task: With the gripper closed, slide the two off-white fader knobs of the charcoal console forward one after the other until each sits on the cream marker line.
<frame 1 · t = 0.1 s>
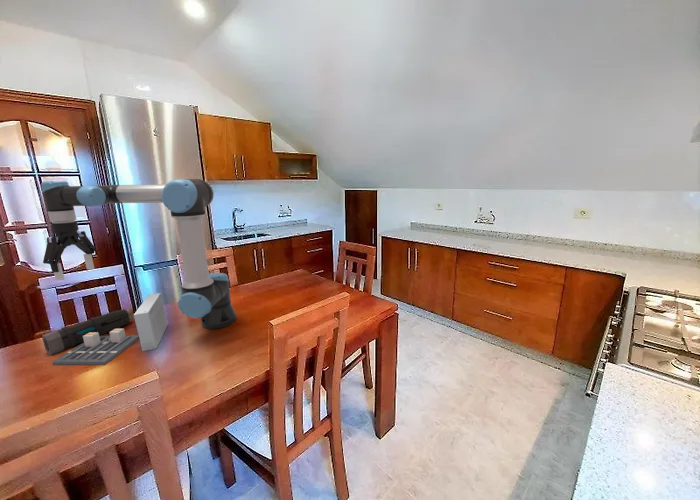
hand: (76, 274, 120), 28 cm above the table, fingers open, 13 cm apart
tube: (94, 337, 127), on the table, touching console
skincare box: (155, 337, 126), on the table
fader A: (117, 335, 120), point 4 cm above the table, slide at -5.0 cm
console: (99, 350, 116), on the table
fader B: (91, 339, 117), point 4 cm above the table, slide at -2.0 cm
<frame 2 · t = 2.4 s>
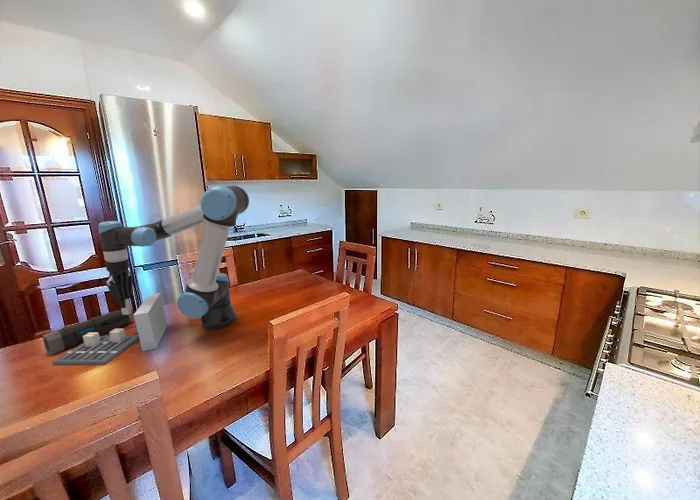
hand: (126, 313, 125), 10 cm above the table, fingers closed
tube: (95, 337, 127), on the table
everything else where it was.
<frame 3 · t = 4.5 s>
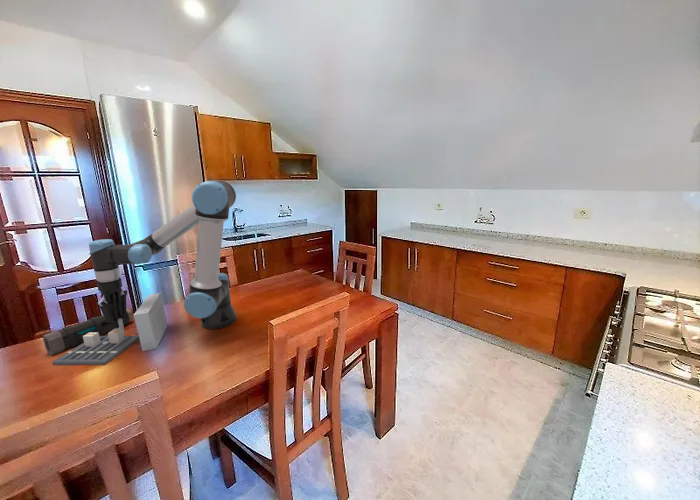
hand: (120, 333, 122), 4 cm above the table, fingers closed
fader A: (116, 336, 119), point 4 cm above the table, slide at -4.2 cm, touching gripper
everything else where it was.
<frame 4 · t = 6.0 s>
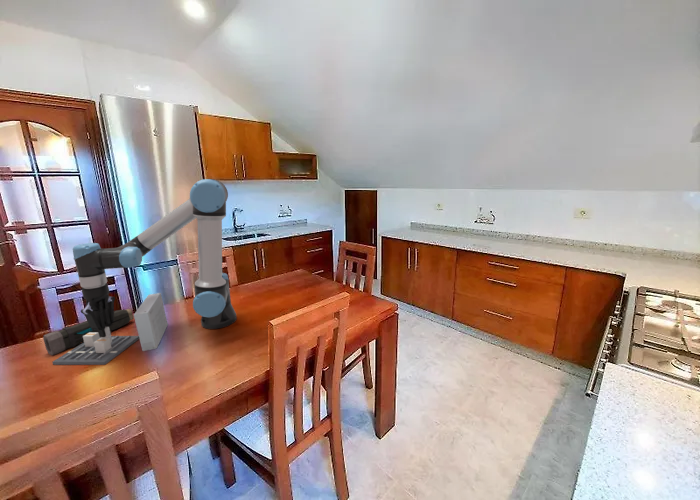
hand: (107, 342, 115), 3 cm above the table, fingers closed
fader A: (102, 345, 113), point 4 cm above the table, slide at 2.4 cm, touching gripper
everything else where it was.
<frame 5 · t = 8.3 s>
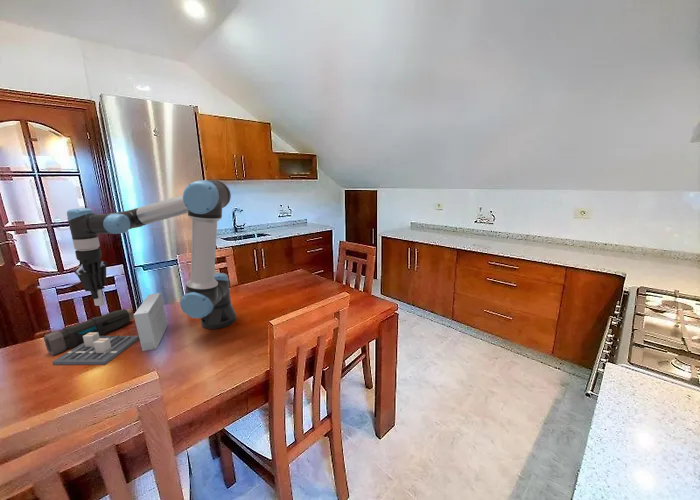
hand: (99, 304, 121), 15 cm above the table, fingers closed
fader A: (102, 345, 113), point 4 cm above the table, slide at 2.5 cm
everything else where it was.
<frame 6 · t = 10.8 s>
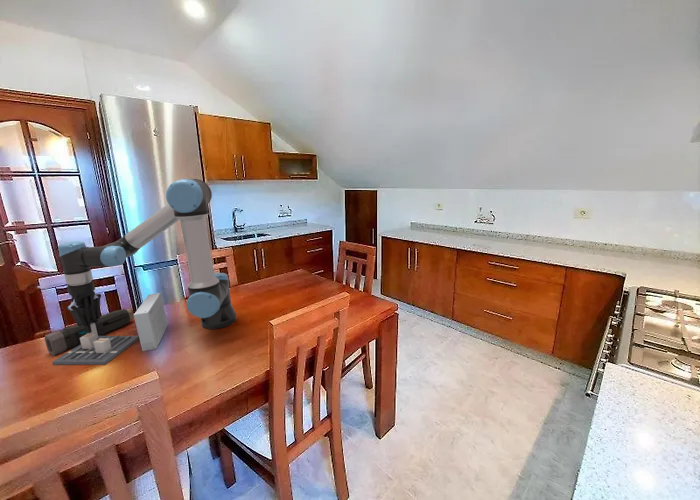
hand: (93, 338, 118), 4 cm above the table, fingers closed
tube: (96, 337, 127), on the table, touching console
fader B: (88, 341, 116), point 4 cm above the table, slide at -0.6 cm, touching gripper
everything else where it was.
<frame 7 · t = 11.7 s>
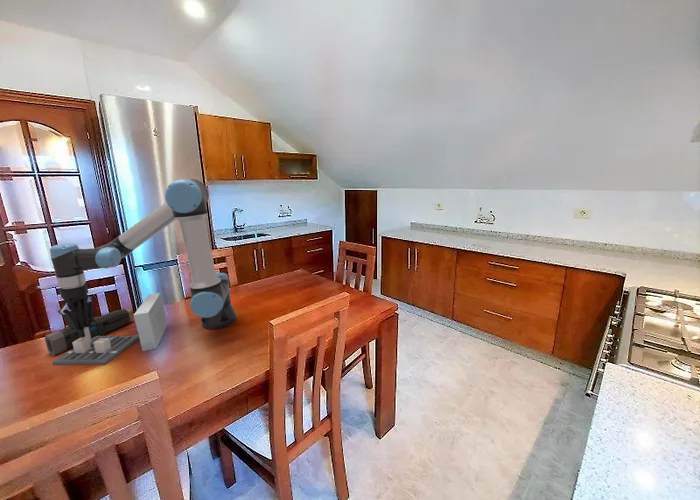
hand: (86, 343, 115), 3 cm above the table, fingers closed
fader B: (81, 345, 113), point 4 cm above the table, slide at 2.5 cm, touching gripper
everything else where it was.
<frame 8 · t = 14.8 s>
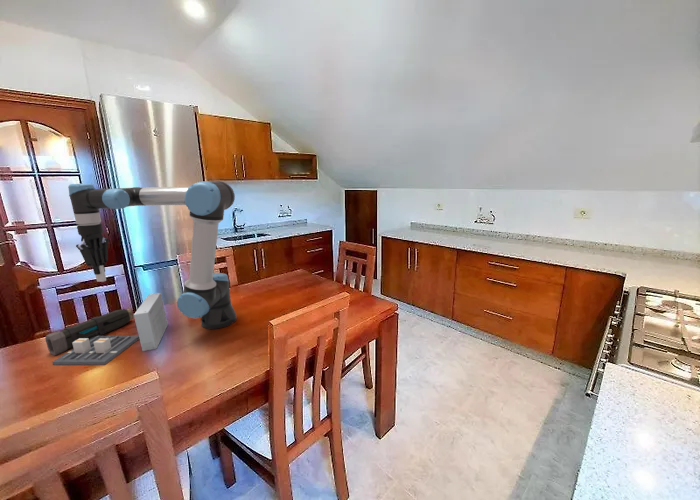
hand: (101, 281, 122), 24 cm above the table, fingers closed
fader B: (81, 345, 113), point 4 cm above the table, slide at 2.5 cm
everything else where it was.
at the end: fader A slide at 2.5 cm; fader B slide at 2.5 cm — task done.
